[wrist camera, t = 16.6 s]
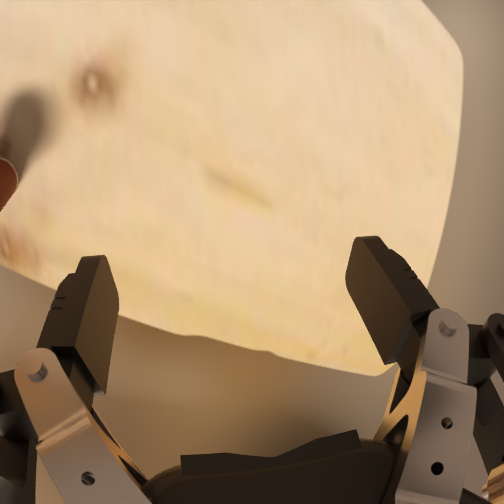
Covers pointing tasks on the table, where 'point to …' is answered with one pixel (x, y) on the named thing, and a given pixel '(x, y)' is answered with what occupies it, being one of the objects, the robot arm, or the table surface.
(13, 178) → the coffee cup
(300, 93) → the table surface
